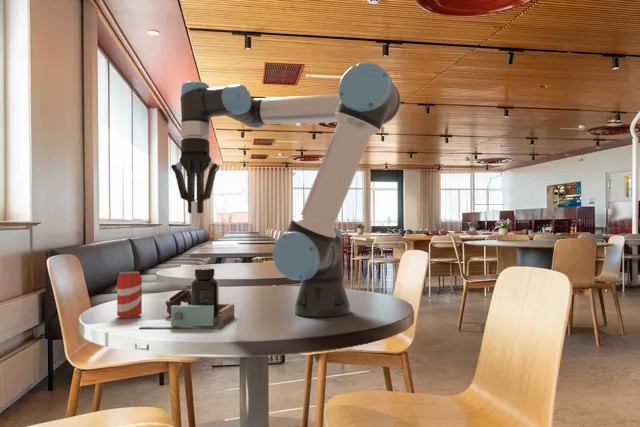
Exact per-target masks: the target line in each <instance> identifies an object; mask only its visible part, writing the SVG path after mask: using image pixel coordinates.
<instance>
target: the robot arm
mask: <svg viewBox="0 0 640 427" xmlns="http://www.w3.org/2000/svg"><path fill="white" fill-rule="evenodd" d="M180 93H181V94H180V111H181V115H180V116H181V121H180V129H181V130H180V138H181V142H180V143H181V144H180V154H181V155H180V158H179V161H178V162H177V163H175V164H171V166H170V168H171V169H172V171H173V172H174V174H175V179H176V182H177V188H178V191H179V196H180V199H182V200H185V201H186V202H187V212H188V214H191V215H190V217H191V218H190V219H191V220H190V221H191V224H190V225H191V226H197V227H198V226H201V214H203V213H204V201H206V200H210V199H211V196H212V192H213V188H214V182H215V179H216V174H217V173H218V170H219V169H220V165H219V164H217V163H214V162H213V161H212V158H211V156H210V153H211V152H210V151H211V150H210V141H209V139H210V118H214V117H224V116H226V117H228V118H231V119H232V120H235V121H237V122H240V123H242V124H243V125H245V126H247V127H250V128H255V129H257V128H262V127H263V126H265V125H289V124H290V125H291V124H325V123H336V126H335V127H334V128H335V129H334V131H333V134H332V136H331V139H330V141H329V143H328V146H327V149H326V151H325V154H324V157H323V159H322V162H321V164H320V166H319V168H318V171H317V173H316V176H315V178H314V181H313V183H312V186H311V188H310V190H309V193H308V195H307V198H306V200H305V203H304V205H303V208H302V210H301V212H300V213H299V215H297V216H294V217H292V218H291V221H290V224H289V226H288V229H287V231H286V232H284V233H283V234H282V235H281V236H280V237H278V238H277V240H276V241H275V243H274V246H273V249H272V259H273V263H274V264H275V265H274V266H275V267H276V269H277V270H278V273H280V274H281V275H283V277H285V278H287V279H288V280H293V281H300V286H299V290H298V294H297V297H296V300H295V304H294V313H295V314H296V315H297V316H301V317H308V318H309V317H310V318H331V317H332V318H333V317H340V316H345V315H348V314H350V313H351V304H350V301H349V298H348V297H349V296H348V295H347V292H346V289H345V286H344V260H343V259H344V258H343V257H344V256H343V255H344V254H343V253H344V252H343V251H344V250H343V248H344V246H343V245H344V240H343V232H342V231H341V230H340V229H339V228H336V227H335V224H336V222H337V219H338V216H339V214H340V212H341V209H342V207H343V204H344V202H345V199H346V197H347V195H348V192H349V190H350V188H351V185H352V183H353V180H354V177H355V175H356V172H357V170H358V168H359V165H360V163H361V161H362V159H363V156H364V153H365V151H366V148H367V146H368V144H369V141H370V139H371V137H372V136H373V135H376V134H378V133H380V131H381V128H382V126H383V125H385V124H387V123H389V122H391V120H393V119H394V118H395V117H396V116H397V114H398V112H399V110H400V106H401V94H400V92H399V89H398V88H397V86H396V85H395V84H394V83H393V80H392V77H391V76H390V73H388V71H386V70H385V69H384V68H383V67H381V66H380V65H379V64H376V63H374V62H365V61H364V62H359V63H356V64H355V65H352V66H351V67H350V68H348V69H347V70H346V71H345V72H344V74H342V77H340V80H339V84H338V93H335V94H334V93H333V94H316V95H315V94H314V95H295V96H283V97H282V96H279V97H265V98H263V97H262V98H252V97H251V94H250V91H249V90H248V88H247V86H246V85H243V84H228V85H225V86H224V85H223V86H217V87H211V88H210V86H209V85H208V84H207V83H206V82H204V81H201V80H200V81H199V80H196V81H195V80H190V81H186V82H184V83H182V85H181V91H180ZM183 169H184V170H185V172H186V177H187V178H186V180H187V181H186V183H185V178H184V174H183V171H182V170H183ZM208 169H209V171H208V173H207V178H206V182H205V180H204V179H205V172H206V170H208ZM195 178H196V179H195ZM195 180H196V186H195ZM204 182H205V183H204ZM186 184H187V185H186ZM204 186H205V187H204ZM195 187H196V189H195ZM195 190H196V191H195ZM195 192H196V197H195Z"/></svg>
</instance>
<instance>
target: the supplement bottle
mask: <svg viewBox="0 0 640 427" xmlns="http://www.w3.org/2000/svg"><path fill="white" fill-rule="evenodd" d="M194 277H195V279H194V280H192V281H191V284H190V291H191V306H214V317H216V316H218V311H219V304H220V303H219V302H220V299H219V298H220V297H219V296H220V294H219V293H220V292H219V290H220V288H219V286H220V285H219V281H218V279H216V278H214V277H215V268H212V267H211V268H207V267H206V268H195V269H194Z"/></svg>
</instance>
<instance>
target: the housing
mask: <svg viewBox="0 0 640 427" xmlns="http://www.w3.org/2000/svg"><path fill="white" fill-rule="evenodd" d="M185 306H191V304H187V305H185ZM234 318H235V303H219V311H218V316H216V317H214V325H213V326H171V325H170V326H165V325H164V326H157V325H156V326H153V325H151V326H147V325H146V326H139V328H138V329H139V330H146V329H147V330H166V329H167V330H181V329H182V330H194V329H195V330H197V329H199V330H200V329H202V330H205V329H207V330H211V329H212V330H213V329H214V330H216V329H217V330H219V329H220V330H222V329H223V327H224V325H226V324H227V323H229V322H230V321H232V319H234Z"/></svg>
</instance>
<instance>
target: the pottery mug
mask: <svg viewBox="0 0 640 427" xmlns="http://www.w3.org/2000/svg"><path fill="white" fill-rule="evenodd" d="M182 303H187V305H189V304H191V289H189V288H183V289H182V290H180V291H178V292H177V293H175V294H174V295H172V296H171V297H170V298H168V300H166V301H165V303H164V304H165V306H166V313H167V314H168V315H169V316H170V317H171V306H182Z"/></svg>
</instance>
